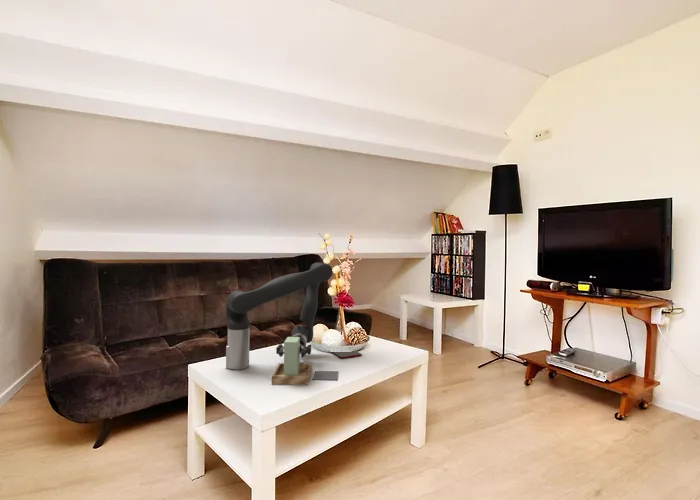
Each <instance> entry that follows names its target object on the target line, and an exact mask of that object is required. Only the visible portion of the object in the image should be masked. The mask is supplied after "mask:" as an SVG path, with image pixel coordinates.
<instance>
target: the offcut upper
mask: <svg viewBox="0 0 700 500" xmlns="http://www.w3.org/2000/svg"><path fill="white" fill-rule="evenodd" d="M305 364H306V362H300V365H299V369H304V367H305Z"/></svg>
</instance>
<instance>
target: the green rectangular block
mask: <svg viewBox="0 0 700 500" xmlns="http://www.w3.org/2000/svg"><path fill="white" fill-rule="evenodd" d="M283 346H284V349H283V352H284V354H283V363H284V375H287V376H298V375H299V365H300V363H301V362H300V359H301V358H300V357H301V356H300V355H301V354H300V337H292V336H287V337H286V338H285V340H284V342H283Z"/></svg>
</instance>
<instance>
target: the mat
mask: <svg viewBox="0 0 700 500" xmlns="http://www.w3.org/2000/svg"><path fill="white" fill-rule="evenodd" d="M338 378H339V370H315V371H314V374H313V377H312V381H338Z"/></svg>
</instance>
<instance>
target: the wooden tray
mask: <svg viewBox="0 0 700 500" xmlns="http://www.w3.org/2000/svg"><path fill="white" fill-rule="evenodd" d="M305 366H306V369H305V372H299V375H298V376H287V375H284V372H283V368H284V362H283V363H282V362H281V363H278V365H277V366H276V368H275V370H274V371H273V373H272V375H271V385H300V386H301V385H305V386H308V383H309V380H310V378H311V375H312V372H313V371H312V370H313V369H312V368H313V365H312V363H305Z"/></svg>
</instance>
